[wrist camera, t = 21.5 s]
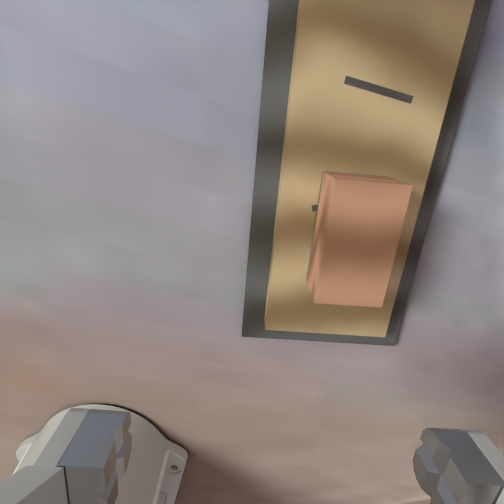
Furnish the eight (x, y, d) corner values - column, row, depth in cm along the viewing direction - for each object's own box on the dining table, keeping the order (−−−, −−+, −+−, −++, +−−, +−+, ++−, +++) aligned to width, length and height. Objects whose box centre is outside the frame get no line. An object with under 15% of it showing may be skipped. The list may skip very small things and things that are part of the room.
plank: (391, 342, 33) (401, 356, 31) (241, 332, 32) (241, 346, 30) (516, -107, 21) (545, -133, 19) (280, -135, 20) (283, -165, 18)
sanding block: (364, 283, 28) (381, 307, 24) (305, 279, 28) (314, 303, 24) (388, 176, 25) (412, 185, 21) (322, 171, 25) (336, 179, 21)
